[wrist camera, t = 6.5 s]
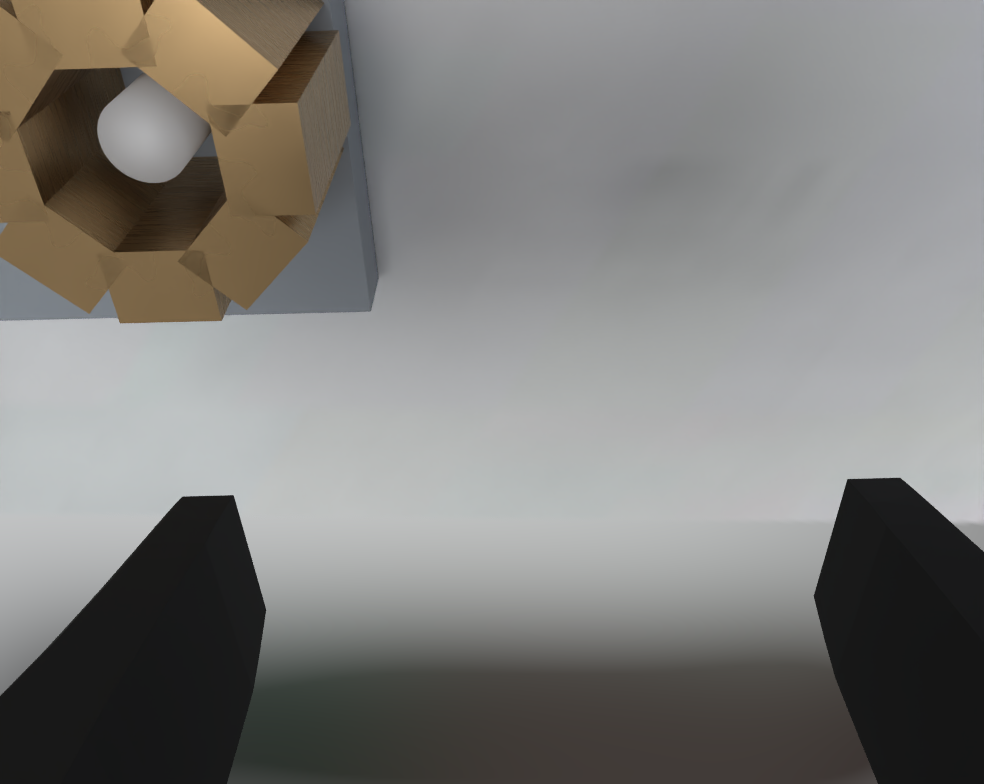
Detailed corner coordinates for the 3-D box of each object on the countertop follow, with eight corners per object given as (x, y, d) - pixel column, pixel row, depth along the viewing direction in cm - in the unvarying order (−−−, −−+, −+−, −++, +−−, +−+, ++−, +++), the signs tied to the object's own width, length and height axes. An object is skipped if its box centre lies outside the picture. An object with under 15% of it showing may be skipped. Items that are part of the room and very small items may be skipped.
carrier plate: (311, -262, 14) (237, -269, 10) (378, 277, 20) (349, 408, 16) (-288, -238, 14) (-596, -237, 10) (-46, 289, 20) (-180, 420, 16)
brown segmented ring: (323, -88, 14) (273, -42, 11) (362, 214, 17) (332, 317, 14) (1, -77, 14) (-142, -30, 11) (99, 221, 18) (9, 326, 14)
